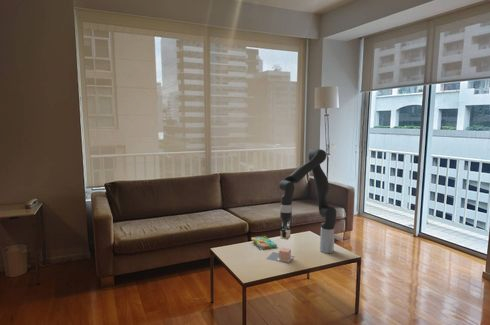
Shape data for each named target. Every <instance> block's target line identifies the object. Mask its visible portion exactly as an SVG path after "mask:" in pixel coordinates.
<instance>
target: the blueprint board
mask: <svg viewBox="0 0 490 325" xmlns="http://www.w3.org/2000/svg"><path fill="white" fill-rule="evenodd" d="M295 257H296V256H295V255H291V258H290V259H289V260H288V261H286V260H281V259H279V252H276V251H275V252H274V251H272V253H270V254H269V255H268V256H267V257H266V258H265V259H266V260H269V261H275V262H278V263H283V264H287V265H289V264H291V262H292V261H293V260H294V259H295Z"/></svg>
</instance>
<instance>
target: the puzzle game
mask: <svg viewBox="0 0 490 325" xmlns="http://www.w3.org/2000/svg"><path fill="white" fill-rule="evenodd" d="M250 239H251V241H253V244H255V246H257V247H258V249H260V250H265V249H267V250H268V249H272V248H277V247H278V244H277V243H275V242H274V241H273V240H272V239H270V238H269V237H267V236H266V235H262V236H261V235H260V236H254V237H251V238H250Z"/></svg>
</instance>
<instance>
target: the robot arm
mask: <svg viewBox="0 0 490 325" xmlns="http://www.w3.org/2000/svg"><path fill="white" fill-rule="evenodd" d="M326 159H327V152H326V150H324V149H320V148H311V149H310V150H309V152H308V162H306V163H304V164H302V165H300V166H299V167H298V168H296V169H295V170H294V171H293V172H292V173H291V174H290V175H288V176H286V177H285V178H283V179H282V180H281V181H280V182H279V185H278V186H279V189H280V190H281V191H283V192H284V194H282V195H280V196H281V197H280V207H279V208H280V213H279V214H280V215H279V218H280V219H282V222H281V223H280V232H281V231H282V237H284V238H285V237H286V230H290V229H291V224H292V223H291V222H292V218H293V217H292V216H293V207H292V206H293V203H292V202H293V199H292V198H293V196H294V193H295V184H298V183H299V182H301V181H302V179H303V178H304V177H306V175H307V174H309V173H310V172H311V171H312V176H313V181H314V186H315V190H316V198H317V202H318V203H317V204H318V213H319V215H320V216H321V217H322V218H325V221H324V222H321V223H320V242H319V251H320V252H322V253H325V254H333V253H334V251H335V225H336V222H337V209H336V208H335V207H334V206H332V205H329V204H328V199H327V198H328V194H329V191H330V185H329V179H328V177H327V175H326V173H325V172H324V170H323V168H322V166H321V164H322V163H324V162H325V160H326ZM283 229H284V230H283Z"/></svg>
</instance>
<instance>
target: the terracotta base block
mask: <svg viewBox="0 0 490 325" xmlns="http://www.w3.org/2000/svg"><path fill="white" fill-rule="evenodd" d="M278 251H279V252H278V253H279V259H281V260H286V261H288V260H289V259H290V258H291V256H292V255H291V252H292V249H291V248H286V247H281V248H280V249H279V250H278Z"/></svg>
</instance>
